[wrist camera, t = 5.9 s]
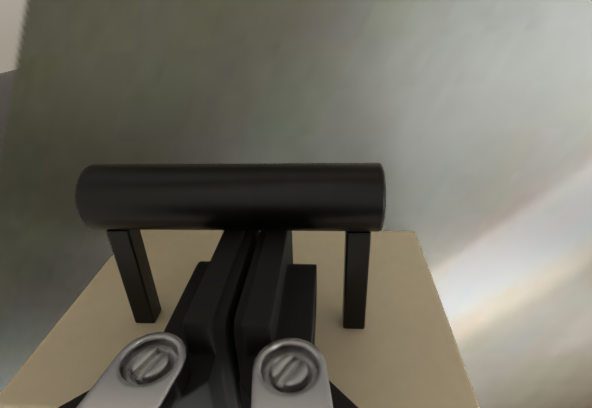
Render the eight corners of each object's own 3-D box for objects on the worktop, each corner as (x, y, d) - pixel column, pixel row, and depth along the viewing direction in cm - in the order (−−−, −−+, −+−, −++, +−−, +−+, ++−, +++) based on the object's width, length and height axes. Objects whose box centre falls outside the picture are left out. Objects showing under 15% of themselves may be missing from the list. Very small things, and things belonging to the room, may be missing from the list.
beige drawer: (100, 112, 14) (-127, 234, 7) (432, 107, 13) (554, 240, 6) (188, 425, 22) (127, 615, 16) (388, 435, 22) (416, 640, 15)
